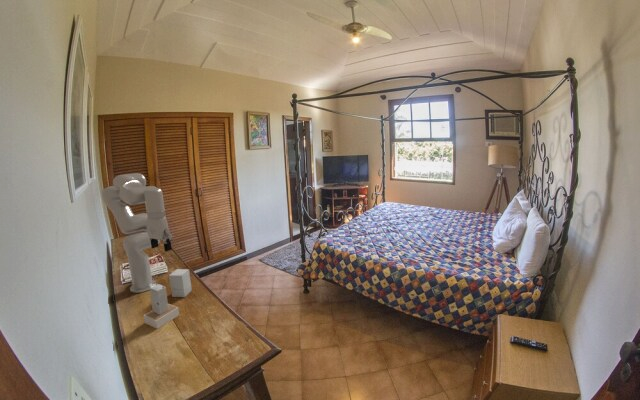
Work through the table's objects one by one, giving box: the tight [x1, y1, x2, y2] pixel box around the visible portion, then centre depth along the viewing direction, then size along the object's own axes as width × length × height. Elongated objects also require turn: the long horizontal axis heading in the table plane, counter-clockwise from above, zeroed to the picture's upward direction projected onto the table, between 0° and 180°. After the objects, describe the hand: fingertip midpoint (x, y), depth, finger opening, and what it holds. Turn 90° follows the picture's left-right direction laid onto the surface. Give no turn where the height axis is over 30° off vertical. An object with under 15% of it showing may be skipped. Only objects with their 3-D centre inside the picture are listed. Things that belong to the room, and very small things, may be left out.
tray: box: [143, 303, 180, 329], centre depth 132 cm, size 9×11×4 cm
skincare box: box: [149, 283, 169, 315], centre depth 131 cm, size 6×4×12 cm
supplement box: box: [168, 268, 193, 298], centre depth 153 cm, size 7×7×13 cm
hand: (161, 248), depth 137 cm, fingers open, 9 cm apart
